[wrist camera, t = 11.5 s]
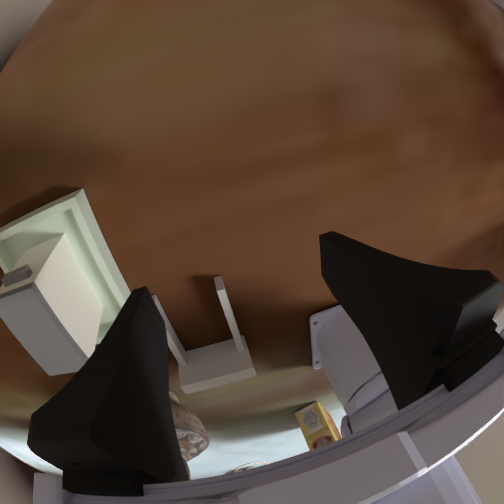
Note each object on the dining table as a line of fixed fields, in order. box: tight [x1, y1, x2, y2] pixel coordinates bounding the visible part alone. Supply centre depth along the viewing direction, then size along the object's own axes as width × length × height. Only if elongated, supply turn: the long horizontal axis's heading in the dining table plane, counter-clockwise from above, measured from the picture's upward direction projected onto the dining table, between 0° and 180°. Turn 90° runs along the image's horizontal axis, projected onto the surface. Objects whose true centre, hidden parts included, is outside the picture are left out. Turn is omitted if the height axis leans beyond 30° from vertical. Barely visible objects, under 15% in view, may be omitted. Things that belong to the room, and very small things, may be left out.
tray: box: [0, 188, 131, 344], centre depth 19 cm, size 12×9×2 cm
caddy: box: [0, 234, 104, 376], centre depth 16 cm, size 8×4×7 cm, turn 11°
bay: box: [152, 276, 257, 394], centre depth 24 cm, size 9×7×4 cm
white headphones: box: [233, 462, 270, 473], centre depth 49 cm, size 9×8×4 cm
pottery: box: [169, 391, 209, 480], centre depth 26 cm, size 11×25×12 cm, turn 134°
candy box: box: [295, 401, 342, 451], centre depth 34 cm, size 9×4×15 cm, turn 29°
